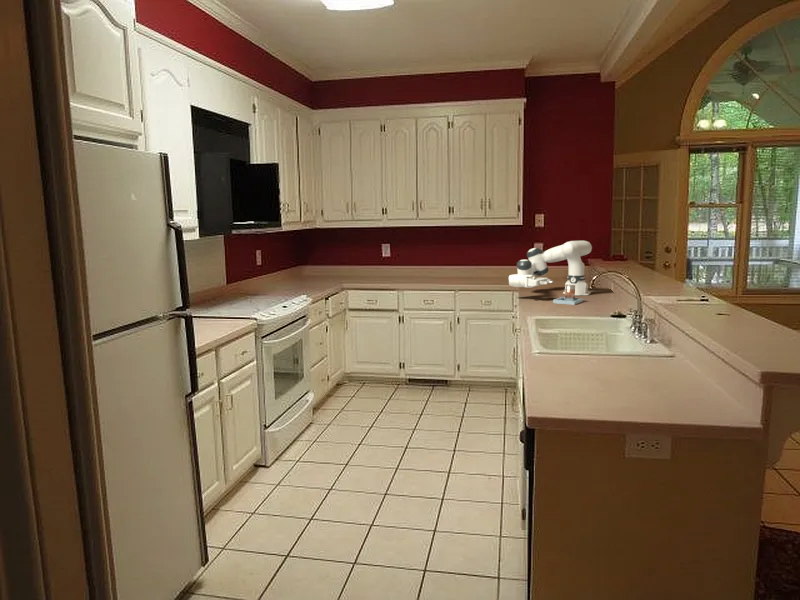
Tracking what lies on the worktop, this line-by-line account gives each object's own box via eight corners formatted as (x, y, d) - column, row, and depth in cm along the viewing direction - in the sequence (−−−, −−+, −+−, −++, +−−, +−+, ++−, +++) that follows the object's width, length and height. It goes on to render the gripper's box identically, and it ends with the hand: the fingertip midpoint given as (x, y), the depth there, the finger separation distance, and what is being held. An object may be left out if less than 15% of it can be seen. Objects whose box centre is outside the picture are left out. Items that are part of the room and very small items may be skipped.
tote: (562, 301, 386) (562, 296, 386) (583, 302, 378) (583, 298, 377) (553, 304, 373) (553, 299, 373) (574, 306, 365) (574, 301, 365)
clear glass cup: (566, 300, 382) (567, 284, 380) (575, 301, 378) (576, 285, 377) (563, 301, 377) (564, 285, 376) (572, 302, 374) (573, 285, 372)
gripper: (536, 284, 401) (555, 285, 392) (524, 287, 384) (543, 288, 376) (536, 275, 400) (556, 276, 392) (524, 278, 384) (543, 278, 375)
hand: (549, 282), depth 384 cm, fingers open, 8 cm apart
